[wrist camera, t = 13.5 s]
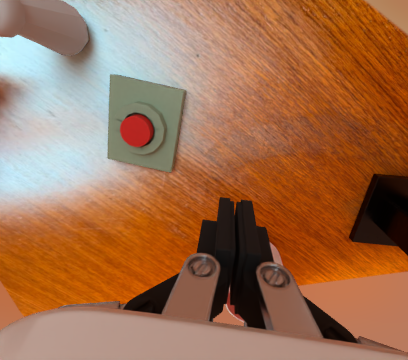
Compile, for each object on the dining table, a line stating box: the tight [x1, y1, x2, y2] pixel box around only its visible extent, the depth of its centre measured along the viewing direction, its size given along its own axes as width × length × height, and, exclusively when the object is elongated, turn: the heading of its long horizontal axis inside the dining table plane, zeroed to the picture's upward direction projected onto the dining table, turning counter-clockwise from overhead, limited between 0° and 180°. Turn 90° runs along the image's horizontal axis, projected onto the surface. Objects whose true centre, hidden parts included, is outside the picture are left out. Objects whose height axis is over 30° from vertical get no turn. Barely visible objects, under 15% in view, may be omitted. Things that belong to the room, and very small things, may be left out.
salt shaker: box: [0, 0, 89, 56], centre depth 25 cm, size 6×6×13 cm
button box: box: [108, 75, 186, 173], centre depth 33 cm, size 12×10×4 cm
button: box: [120, 114, 154, 147], centre depth 31 cm, size 4×4×2 cm
